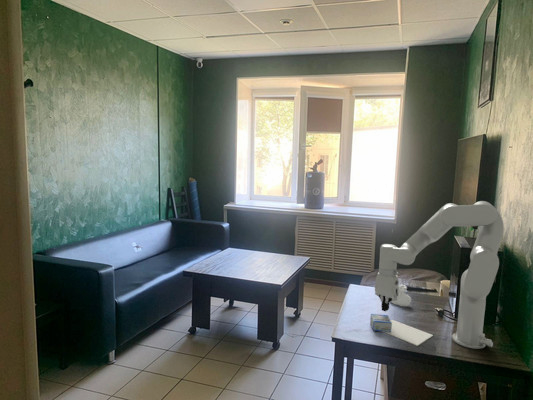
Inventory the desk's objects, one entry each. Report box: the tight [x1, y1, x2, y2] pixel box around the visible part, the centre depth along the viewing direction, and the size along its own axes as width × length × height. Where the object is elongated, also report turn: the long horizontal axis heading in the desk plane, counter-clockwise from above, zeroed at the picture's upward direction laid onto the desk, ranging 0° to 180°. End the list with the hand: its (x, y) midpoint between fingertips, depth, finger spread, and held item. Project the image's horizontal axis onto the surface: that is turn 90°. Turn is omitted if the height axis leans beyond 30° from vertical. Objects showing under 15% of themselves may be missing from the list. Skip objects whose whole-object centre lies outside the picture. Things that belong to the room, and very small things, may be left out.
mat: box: [381, 319, 434, 347], centre depth 167 cm, size 20×14×1 cm
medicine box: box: [369, 313, 392, 332], centre depth 170 cm, size 8×4×9 cm
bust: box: [390, 283, 412, 307], centre depth 200 cm, size 12×8×11 cm
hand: (385, 310), depth 174 cm, fingers closed
